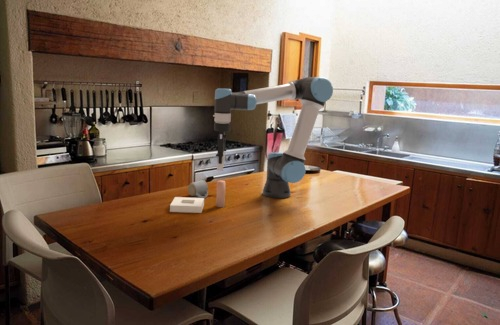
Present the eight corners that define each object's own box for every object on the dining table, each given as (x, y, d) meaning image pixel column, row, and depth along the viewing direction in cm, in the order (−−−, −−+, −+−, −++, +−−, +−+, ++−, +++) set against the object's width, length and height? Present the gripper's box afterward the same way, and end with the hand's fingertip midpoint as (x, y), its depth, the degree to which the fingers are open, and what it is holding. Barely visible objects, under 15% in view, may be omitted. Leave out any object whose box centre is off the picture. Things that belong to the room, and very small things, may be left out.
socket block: (204, 204, 198) (204, 198, 198) (201, 212, 184) (201, 206, 184) (174, 203, 198) (175, 197, 197) (169, 211, 184) (170, 205, 183)
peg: (224, 204, 198) (225, 180, 196) (224, 207, 194) (225, 182, 192) (216, 204, 198) (217, 180, 196) (215, 207, 194) (216, 182, 192)
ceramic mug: (186, 195, 213) (187, 180, 212) (199, 192, 219) (199, 178, 217) (198, 200, 206) (199, 185, 204) (211, 197, 211) (212, 183, 210)
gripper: (216, 119, 202) (214, 162, 205) (211, 124, 177) (210, 172, 181) (231, 120, 202) (229, 162, 206) (229, 125, 177) (227, 173, 181)
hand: (220, 167), depth 193 cm, fingers open, 13 cm apart
